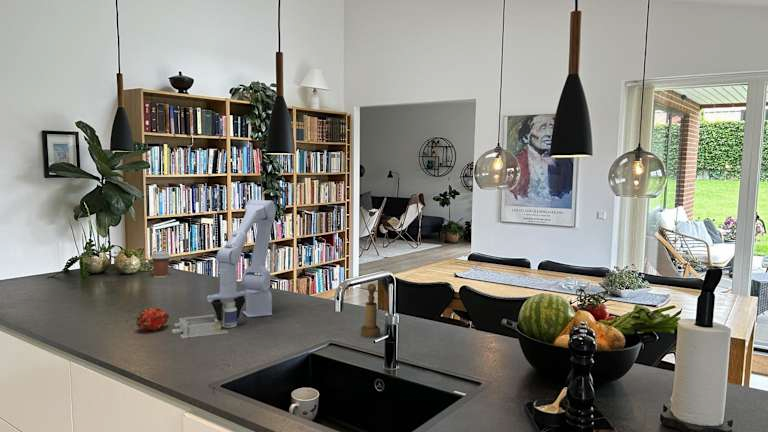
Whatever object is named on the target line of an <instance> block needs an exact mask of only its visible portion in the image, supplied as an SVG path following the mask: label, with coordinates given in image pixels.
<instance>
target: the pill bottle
mask: <svg viewBox="0 0 768 432" xmlns="http://www.w3.org/2000/svg"><path fill="white" fill-rule="evenodd" d="M237 325H238V318H237V308H236V307H235V301H234V299H233V300H232V299H226V300H223V306H222V320H221V328H224V329H230V328H235V327H237Z"/></svg>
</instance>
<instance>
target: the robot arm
mask: <svg viewBox="0 0 768 432" xmlns="http://www.w3.org/2000/svg"><path fill="white" fill-rule="evenodd" d="M246 202H247V203H246V205H245V206H244V212H245V214H244V216H243V218H242V220H241V222H240V225H239V227H238V228H237V230H234V231H232V233H231V235H230V237H228V240H227V242H226V243H225V245H224V246H223V247H221V248H220V249H219V250H217V253H216V256H215V260H216V262H217V264H218V266H217V267H218V269H219V293H214V294H209V295H207V296H206V301H207V302H208V303H211V305H212V307H213V309H214V312H215V315H216V316H215V317H216V319H217V320H218V321H219V322H222V308H223V307H224V302H222V301H227V300H232V299H233V300H234V301H235V307H236V308H237V319H240V315H241V311H242V309H243V306H244V304H245V310H243V311H242V313H243V315H245V316H246V317H247V318H255V317H264V316H273V313H272V312H273V311H272V310H273V307H272V306H273V296H272V295H273V294H272V292H271V290H270V286H271V272H270V271H269V270H268V269H267V268H266V263H267V256H268V251H269V244H270V238H271V232H272V227H273V226H272V225H273V224H274V222H275V218H276V211H277V207H276V205H275V201H273V200H265V199H264V200H262V199H252V198H250V199H249V200H248V201H246ZM255 223H256V224H257V229H256V234H255V240H254V246H253V253H252V259H251V263H250V265H249V266H248V267H246V268H245V269H244V273H243V275H242V277H241V280H240V284H241V288H242V289H243V290H239V291H237V287H238V282H237V281H238V276H237V275H238V269H237V268H238V264H239V262H240V261H241V257H242V250H243V248H244V246H245V245H246V242H247V240H248V235H247V234H248V233H249V231H251V229H252V227H253V226H254V224H255Z"/></svg>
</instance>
